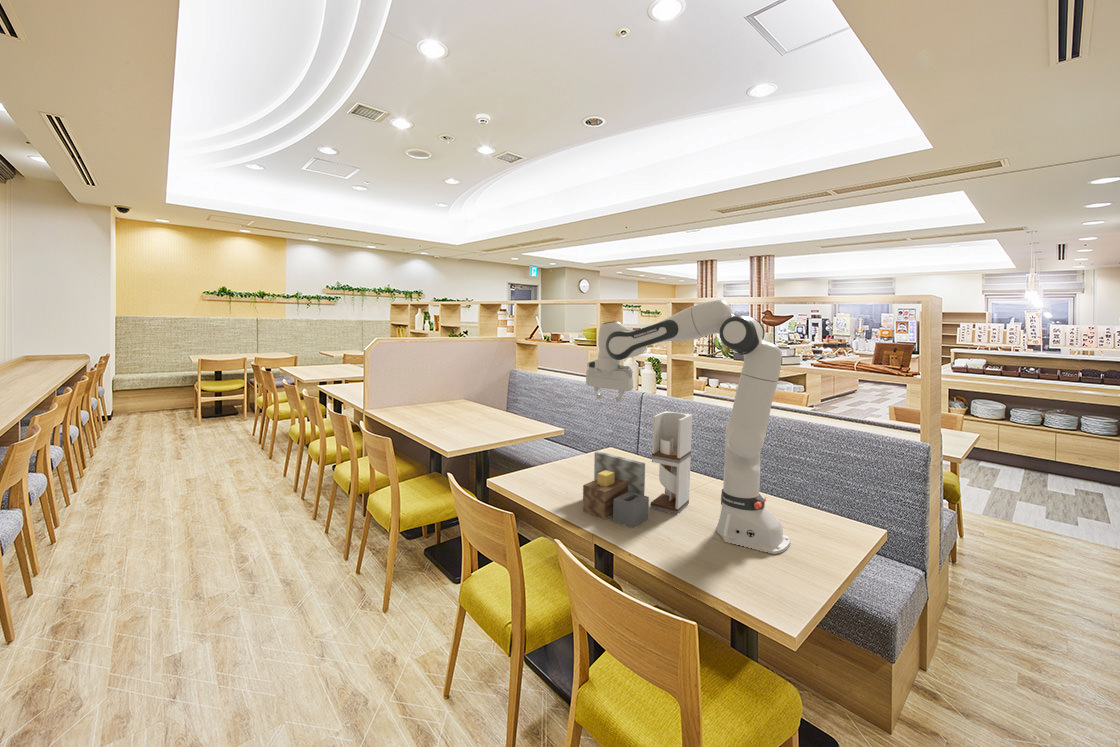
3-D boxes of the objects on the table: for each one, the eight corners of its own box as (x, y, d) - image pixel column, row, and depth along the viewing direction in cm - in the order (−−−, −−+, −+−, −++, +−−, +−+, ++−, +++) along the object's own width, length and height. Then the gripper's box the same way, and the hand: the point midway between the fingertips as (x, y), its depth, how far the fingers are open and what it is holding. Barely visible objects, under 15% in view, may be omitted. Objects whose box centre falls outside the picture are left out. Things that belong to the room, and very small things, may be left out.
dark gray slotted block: (648, 518, 168) (648, 496, 167) (632, 527, 161) (632, 505, 160) (629, 512, 173) (629, 491, 172) (613, 520, 166) (613, 498, 165)
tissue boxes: (643, 510, 175) (645, 463, 173) (618, 524, 163) (619, 474, 161) (597, 494, 190) (597, 451, 188) (570, 506, 178) (571, 460, 176)
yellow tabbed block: (614, 493, 176) (614, 472, 175) (605, 497, 172) (606, 475, 171) (605, 490, 178) (605, 470, 177) (597, 494, 175) (597, 473, 174)
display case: (662, 498, 187) (665, 411, 182) (688, 504, 181) (692, 414, 176) (650, 507, 177) (653, 416, 173) (677, 514, 171) (681, 420, 167)
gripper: (637, 365, 175) (636, 402, 177) (593, 361, 189) (593, 395, 191) (627, 367, 170) (626, 405, 172) (583, 362, 184) (583, 397, 186)
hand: (608, 400), depth 182 cm, fingers open, 8 cm apart
